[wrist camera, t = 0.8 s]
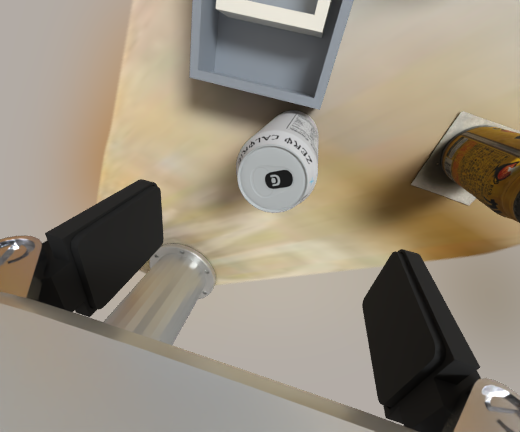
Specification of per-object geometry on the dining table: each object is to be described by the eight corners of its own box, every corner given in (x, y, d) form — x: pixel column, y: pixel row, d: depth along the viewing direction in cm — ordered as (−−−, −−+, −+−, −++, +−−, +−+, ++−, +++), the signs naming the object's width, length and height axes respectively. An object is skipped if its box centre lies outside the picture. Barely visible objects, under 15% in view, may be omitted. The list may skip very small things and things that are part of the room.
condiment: (530, 134, 24) (687, 175, 14) (468, 204, 28) (551, 274, 18) (460, 110, 24) (563, 132, 14) (409, 183, 29) (459, 240, 18)
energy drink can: (263, 116, 28) (217, 145, 16) (314, 103, 27) (310, 124, 14) (273, 164, 31) (242, 224, 18) (321, 156, 29) (323, 215, 16)
